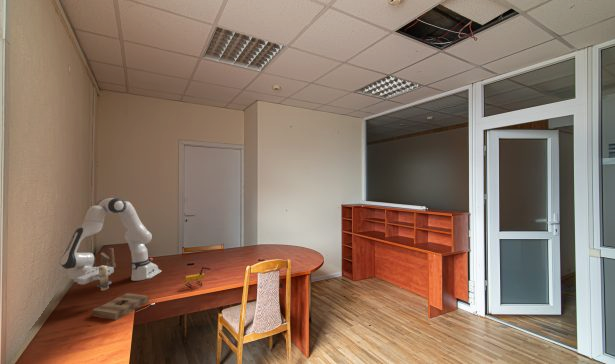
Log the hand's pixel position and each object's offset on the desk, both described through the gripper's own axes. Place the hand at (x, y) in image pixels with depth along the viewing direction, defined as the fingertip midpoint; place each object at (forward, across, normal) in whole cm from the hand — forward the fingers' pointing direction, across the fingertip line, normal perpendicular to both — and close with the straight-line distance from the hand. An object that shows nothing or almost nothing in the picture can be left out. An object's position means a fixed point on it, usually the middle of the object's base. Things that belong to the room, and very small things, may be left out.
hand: (104, 276), depth 177 cm
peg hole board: (+16, -2, +18) cm, 25 cm away
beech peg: (-1, 0, +8) cm, 9 cm away
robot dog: (+41, +36, +19) cm, 58 cm away
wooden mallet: (-67, +50, +19) cm, 86 cm away
